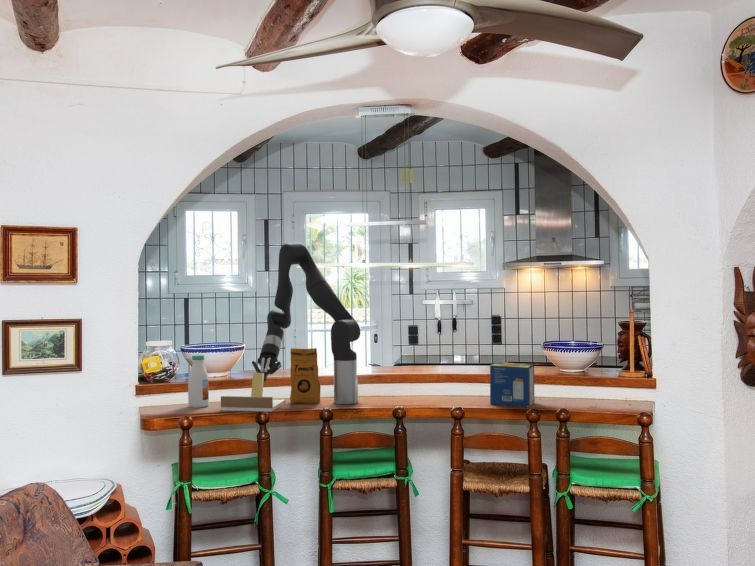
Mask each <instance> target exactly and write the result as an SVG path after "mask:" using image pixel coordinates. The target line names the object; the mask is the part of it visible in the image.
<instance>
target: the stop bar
mask: <svg viewBox="0 0 755 566" xmlns="http://www.w3.org/2000/svg"><path fill="white" fill-rule="evenodd" d="M263 382H264V373H257V372H253V373H252V382H251V396H250V397H263V394H264V392H263V391H264V383H265V382H264V383H263Z"/></svg>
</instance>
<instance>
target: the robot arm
mask: <svg viewBox="0 0 755 566" xmlns="http://www.w3.org/2000/svg"><path fill="white" fill-rule="evenodd" d="M293 265H299V267H300V268H301V269H302V271H303V272H304V275H305V289H306V292H307V294H308V295H309V297H310V298H311V300H312V301H313V303H314V304H315V305H316V306H317V307H318V308H320V309H321V310H322V311H324V312H325V313H326V314H328V316H330V317H331V318H332V319H333V320H334V322H333V324H332V325H331V328H330V345H331V347H330V348H331V353H332V356H333V403H334V404H337V405H352V404H353V405H355V404H356V403H358V401H359V378H358V375H357V372H358V371H357V366H358V365H357V363H358V362H357V361H358V360H357V352H356V351H354V350H353V349H352V348H351V343H353V342H356V341H358V340H359V338H360V336H361V328H360V325H359V323H358V322H357V320H356V319H355V318H354V317H353V316H352V315H351V314H350V312H349V311H348V310H347V309H346V308H345V306H344V304H342V302H341V300H340V299H339V297H338V296H337V295H336V293H335V291H334V290H333V288H332V287H331V285H330V284H329V282H328V281H327V280H326V279H325V276H323V274H322V272H321V271H320V269H319V267H318V266H317V264H316V263H315V261H314V259H313V257H312V255H311V253H310V252H309V250H308V248H307V246H306V245H305V244H304V243H302V242H289V243H285V244H282V246H281V247H280V248H279V253H278V266H277V267H278V270H277V271H278V274H277V275H278V276H277V287H276V292H275V297H274V303H273V304H274V306H275V307H276V308H277V309H279V310H275V309H274V310H270V311H268V314H267V316H266V322H267V323H266V324H267V332H266V334H265V339H264V341H263V343H262V346H261V349H260V353H259V357H258V358H257V360H256V361H255V360H252V362H251V364H252V367H253V369H254V370H255V371H256V372H255V373H264V382H263V384H264V383H265V382H266V381H267V378H268V376H269V375H273V374H275V373H276V372H277V371H278V370H279V369H280V368H282V363H281V361H279V360H278V359H279V355H280V352H281V346H282V340H283V337H284V330H283V329H285V330H287V329H288V328H289V327H290V326H291V323H292V315H291V304H292V299H293V293H294V288H293V284H292V281H291V278H290V271H291V267H292V266H293ZM280 310H281V311H280ZM259 366H260V368H259Z"/></svg>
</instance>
